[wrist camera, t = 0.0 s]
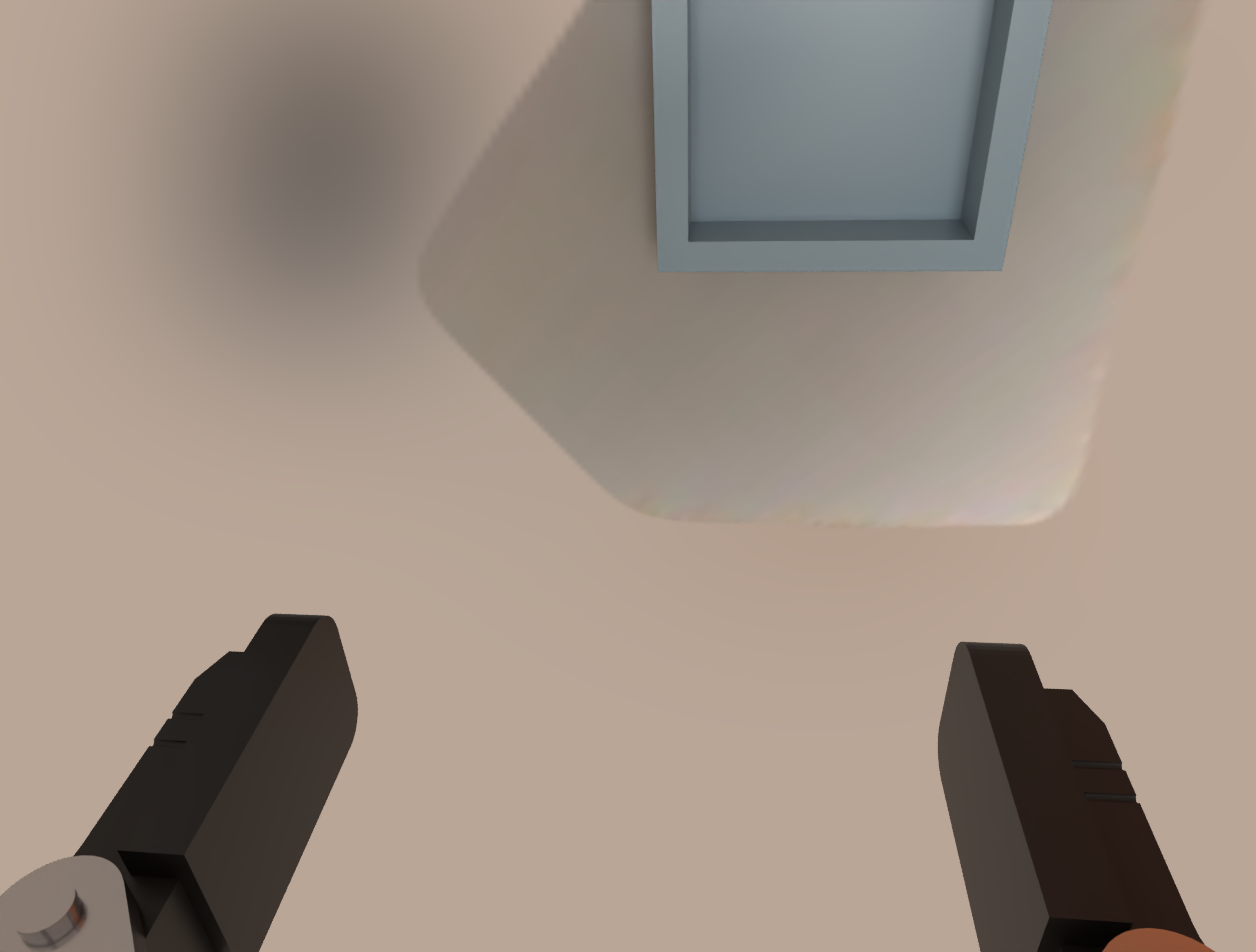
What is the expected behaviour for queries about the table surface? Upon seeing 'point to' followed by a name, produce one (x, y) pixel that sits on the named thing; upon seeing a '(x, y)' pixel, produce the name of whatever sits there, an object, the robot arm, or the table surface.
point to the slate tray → (841, 132)
